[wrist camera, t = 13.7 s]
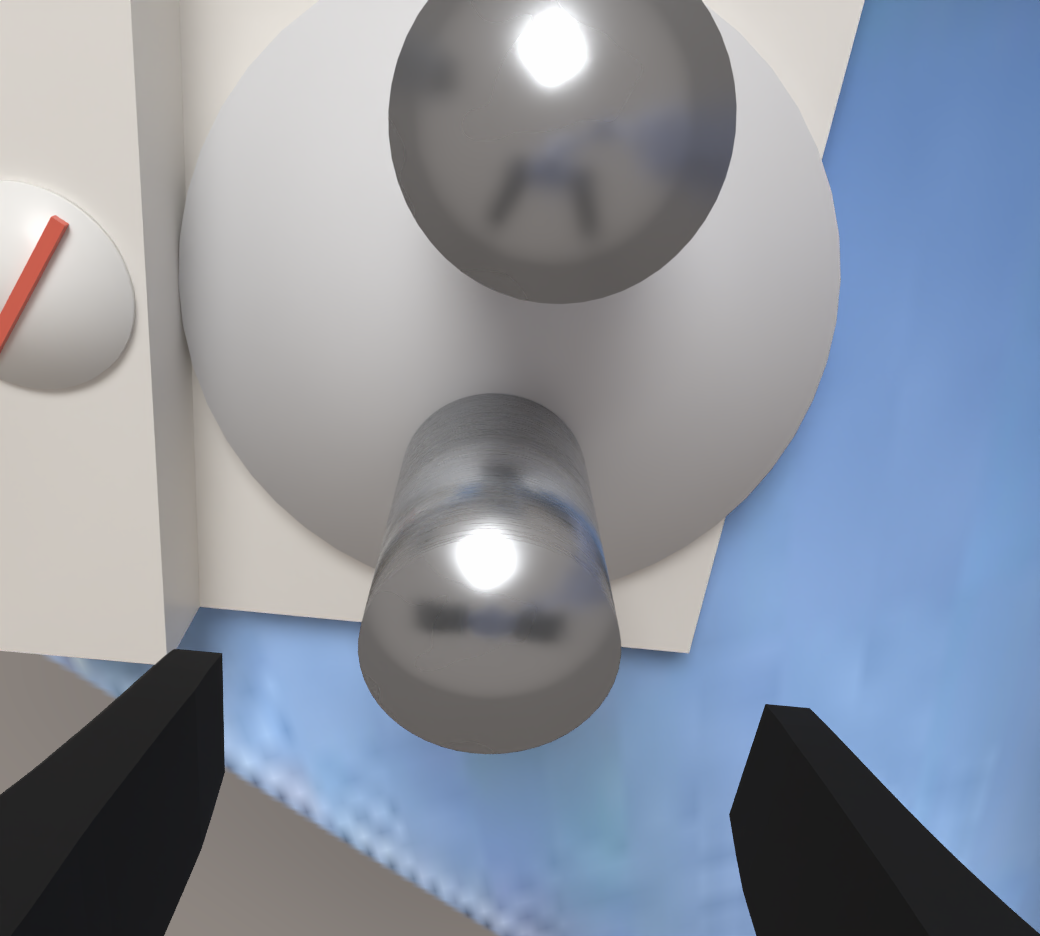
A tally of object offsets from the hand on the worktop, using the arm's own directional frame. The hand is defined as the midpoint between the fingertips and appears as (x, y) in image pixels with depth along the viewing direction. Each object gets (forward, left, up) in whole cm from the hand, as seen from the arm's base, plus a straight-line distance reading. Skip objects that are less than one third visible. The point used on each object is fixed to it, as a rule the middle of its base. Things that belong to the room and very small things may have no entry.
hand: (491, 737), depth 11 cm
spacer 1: (0, -7, -8) cm, 11 cm away
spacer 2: (0, 0, -8) cm, 8 cm away
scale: (+3, -3, -9) cm, 10 cm away
